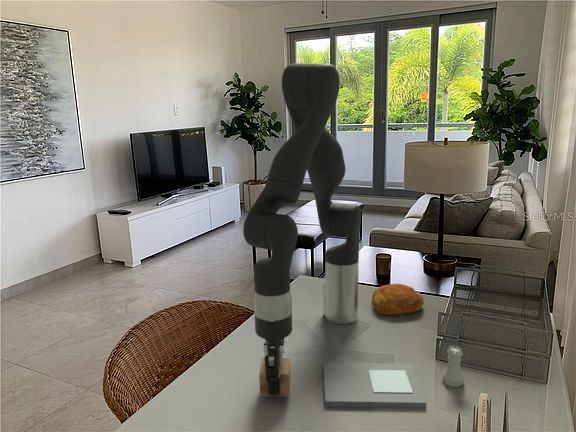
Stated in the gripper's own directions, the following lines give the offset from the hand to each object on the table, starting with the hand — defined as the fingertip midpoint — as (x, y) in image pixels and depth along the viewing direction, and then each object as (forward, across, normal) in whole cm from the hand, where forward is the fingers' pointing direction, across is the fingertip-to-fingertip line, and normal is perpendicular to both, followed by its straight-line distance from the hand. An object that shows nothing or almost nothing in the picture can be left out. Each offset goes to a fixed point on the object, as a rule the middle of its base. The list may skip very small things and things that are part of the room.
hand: (275, 383), depth 94 cm
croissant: (+4, -44, +33) cm, 55 cm away
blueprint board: (+3, -4, +20) cm, 21 cm away
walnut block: (+1, 0, 0) cm, 1 cm away
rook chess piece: (+3, -6, +38) cm, 39 cm away
